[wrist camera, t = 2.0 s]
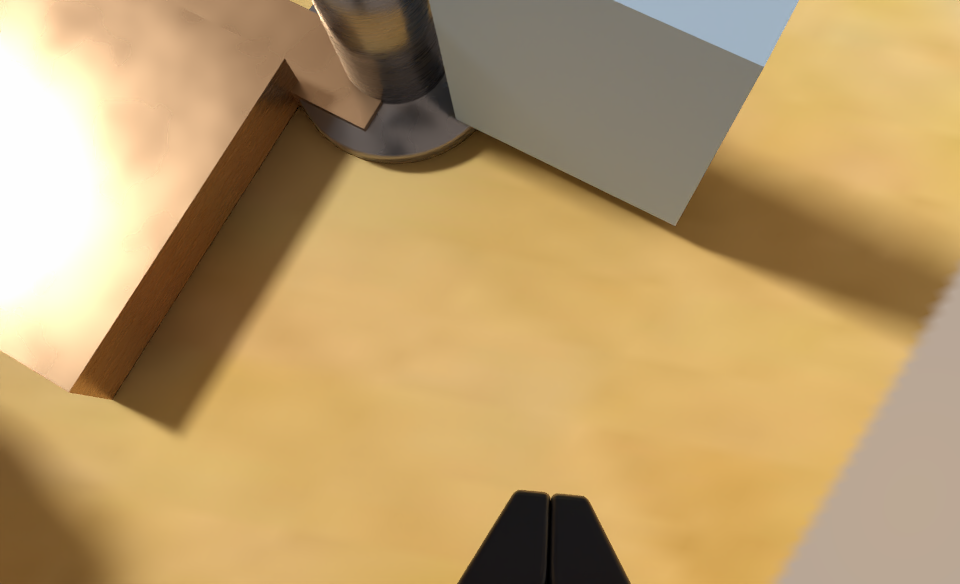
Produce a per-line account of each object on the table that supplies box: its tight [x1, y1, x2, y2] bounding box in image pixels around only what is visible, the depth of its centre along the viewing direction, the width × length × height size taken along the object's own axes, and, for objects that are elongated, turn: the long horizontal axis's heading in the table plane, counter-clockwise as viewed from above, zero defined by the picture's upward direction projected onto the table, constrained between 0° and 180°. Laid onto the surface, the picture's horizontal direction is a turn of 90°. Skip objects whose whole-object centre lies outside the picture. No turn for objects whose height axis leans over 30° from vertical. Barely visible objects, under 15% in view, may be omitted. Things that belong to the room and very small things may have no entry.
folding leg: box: [429, 0, 799, 226], centre depth 17 cm, size 9×2×8 cm, turn 61°
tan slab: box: [0, 0, 476, 400], centre depth 19 cm, size 15×15×7 cm
